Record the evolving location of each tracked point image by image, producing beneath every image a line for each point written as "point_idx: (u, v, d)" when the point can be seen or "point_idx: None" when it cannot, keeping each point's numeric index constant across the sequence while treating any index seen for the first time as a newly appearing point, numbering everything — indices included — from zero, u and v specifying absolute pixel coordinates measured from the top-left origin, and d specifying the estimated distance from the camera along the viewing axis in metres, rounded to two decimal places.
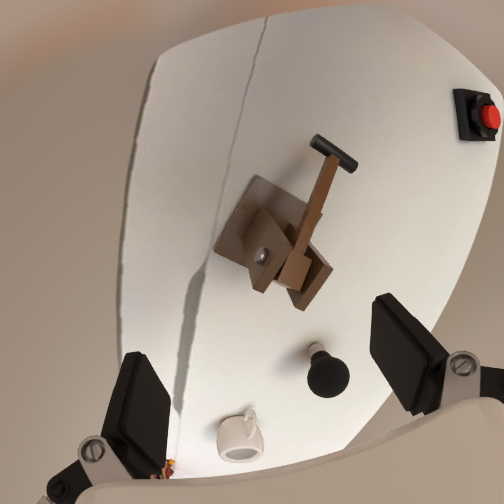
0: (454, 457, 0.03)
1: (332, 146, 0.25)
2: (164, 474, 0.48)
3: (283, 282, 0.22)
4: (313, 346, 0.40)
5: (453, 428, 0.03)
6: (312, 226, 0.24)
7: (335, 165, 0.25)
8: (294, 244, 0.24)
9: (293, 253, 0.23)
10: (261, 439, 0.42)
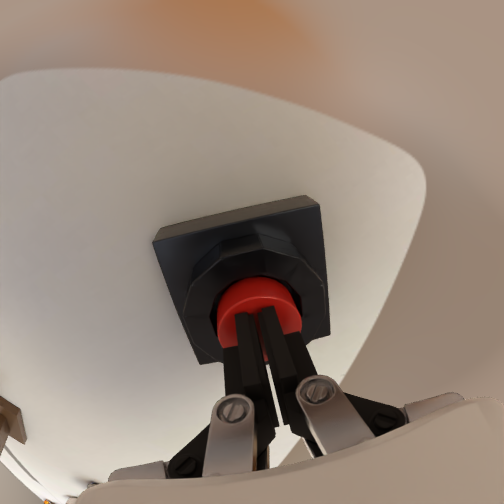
0: (454, 457, 0.03)
1: None
2: None
3: None
4: (88, 486, 0.27)
5: (453, 428, 0.03)
6: None
7: None
8: None
9: None
10: None
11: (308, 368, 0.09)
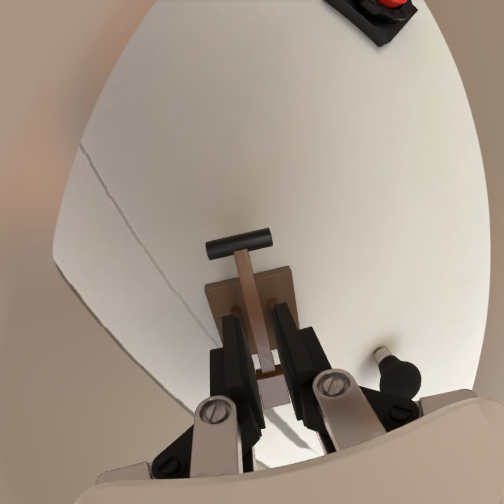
0: (454, 457, 0.03)
1: (228, 244, 0.21)
2: None
3: (270, 407, 0.20)
4: (376, 355, 0.36)
5: (453, 428, 0.03)
6: (265, 342, 0.21)
7: (246, 260, 0.22)
8: None
9: (261, 382, 0.21)
10: None
11: (322, 363, 0.09)
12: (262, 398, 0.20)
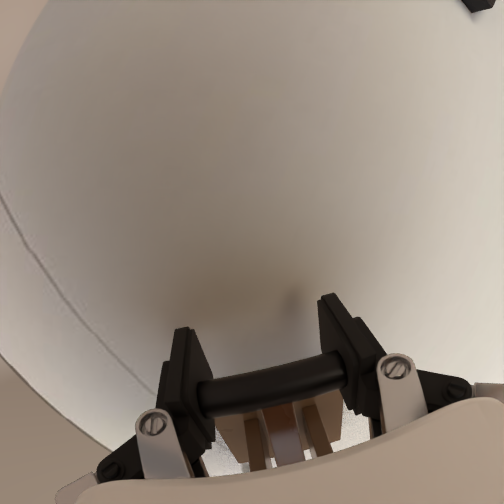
0: (454, 457, 0.03)
1: (249, 399, 0.08)
2: None
3: None
4: None
5: (453, 428, 0.03)
6: None
7: (289, 423, 0.09)
8: None
9: None
10: None
11: (377, 350, 0.08)
12: None
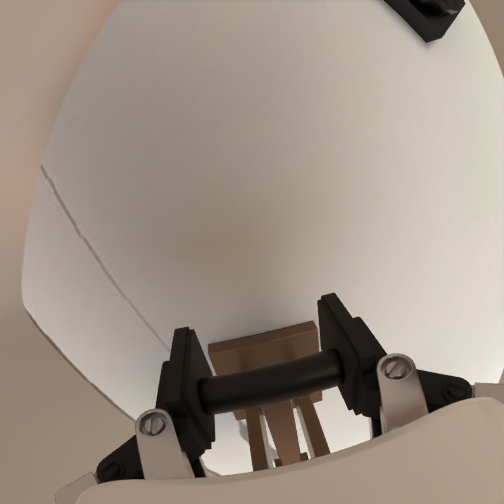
0: (454, 457, 0.03)
1: (252, 403, 0.09)
2: None
3: None
4: None
5: (453, 428, 0.03)
6: None
7: (286, 411, 0.10)
8: None
9: None
10: None
11: (377, 350, 0.08)
12: None
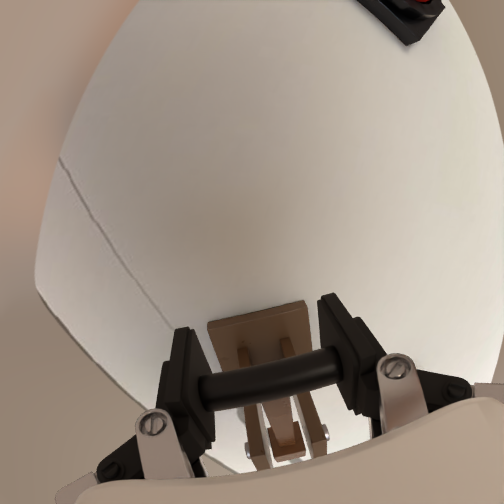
0: (454, 457, 0.03)
1: (252, 402, 0.09)
2: None
3: None
4: None
5: (453, 428, 0.03)
6: (290, 436, 0.14)
7: (283, 403, 0.10)
8: (278, 444, 0.15)
9: (279, 457, 0.15)
10: None
11: (377, 350, 0.08)
12: (277, 460, 0.16)
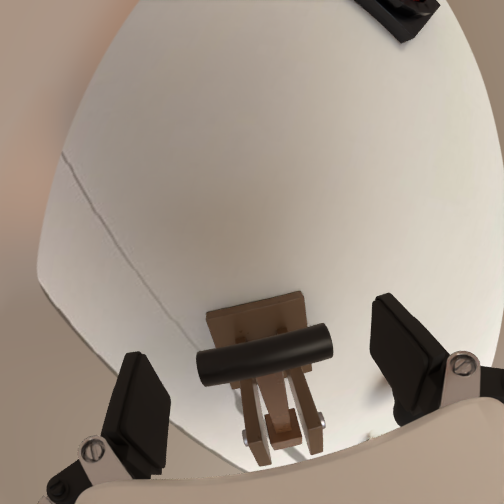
0: (454, 457, 0.03)
1: (247, 376, 0.10)
2: None
3: None
4: None
5: (453, 428, 0.03)
6: (286, 421, 0.15)
7: (277, 380, 0.11)
8: (275, 430, 0.16)
9: (276, 443, 0.16)
10: None
11: None
12: (274, 448, 0.17)
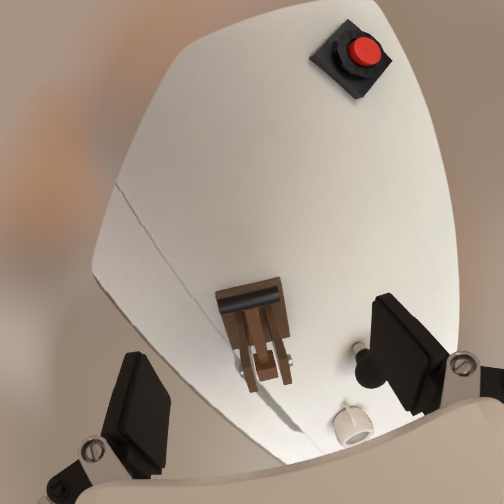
0: (454, 457, 0.03)
1: (240, 308, 0.23)
2: None
3: (264, 380, 0.31)
4: (353, 348, 0.45)
5: (453, 428, 0.03)
6: (264, 351, 0.28)
7: (255, 314, 0.24)
8: (259, 362, 0.29)
9: (260, 372, 0.29)
10: (366, 420, 0.49)
11: None
12: (259, 377, 0.30)
